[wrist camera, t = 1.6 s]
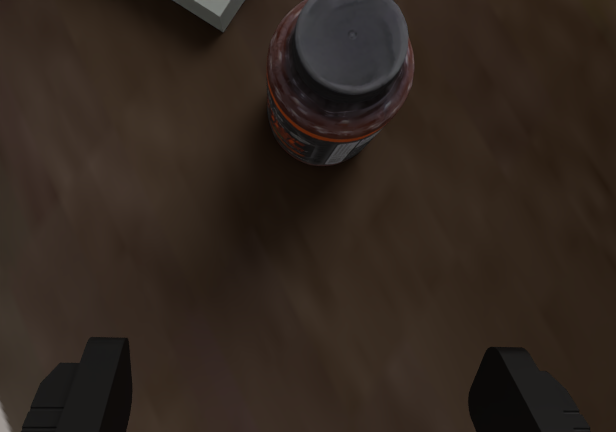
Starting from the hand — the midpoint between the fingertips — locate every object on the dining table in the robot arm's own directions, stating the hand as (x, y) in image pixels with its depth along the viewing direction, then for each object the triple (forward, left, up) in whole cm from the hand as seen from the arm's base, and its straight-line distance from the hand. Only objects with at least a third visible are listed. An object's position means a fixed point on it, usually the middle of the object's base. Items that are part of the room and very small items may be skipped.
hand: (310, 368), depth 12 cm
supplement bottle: (-9, -4, -17) cm, 20 cm away
